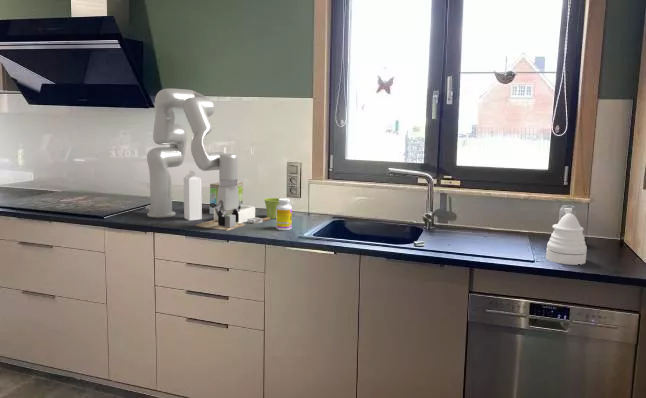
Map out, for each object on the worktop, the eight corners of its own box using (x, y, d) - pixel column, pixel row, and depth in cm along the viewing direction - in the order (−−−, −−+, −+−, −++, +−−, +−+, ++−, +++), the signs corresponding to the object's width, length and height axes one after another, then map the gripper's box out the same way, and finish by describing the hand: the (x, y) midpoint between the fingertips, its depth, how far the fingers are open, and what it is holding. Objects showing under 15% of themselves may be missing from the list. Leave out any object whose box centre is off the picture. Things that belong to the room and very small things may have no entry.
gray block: (221, 226, 230) (221, 215, 229) (227, 225, 234) (227, 213, 233) (229, 228, 228) (229, 216, 228) (235, 226, 232) (235, 215, 231)
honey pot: (541, 254, 199) (545, 205, 197) (577, 255, 198) (582, 207, 195) (552, 263, 187) (557, 212, 184) (591, 265, 186) (596, 213, 183)
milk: (189, 221, 243) (188, 172, 239) (184, 218, 247) (183, 170, 244) (202, 219, 246) (201, 171, 243) (196, 217, 251) (195, 170, 247)
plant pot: (267, 215, 261) (267, 197, 259) (286, 216, 259) (286, 198, 257) (261, 218, 252) (261, 200, 250) (280, 220, 250) (281, 201, 248)
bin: (213, 221, 244) (213, 208, 243) (231, 216, 255) (231, 204, 254) (237, 224, 238) (237, 211, 237) (255, 219, 249) (255, 206, 248)
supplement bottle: (292, 230, 228) (292, 200, 226) (276, 231, 227) (276, 200, 225) (290, 227, 235) (291, 198, 233) (275, 227, 234) (275, 198, 232)
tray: (196, 227, 231) (196, 224, 231) (215, 221, 242) (215, 219, 242) (226, 231, 224) (226, 229, 223) (245, 226, 235) (245, 223, 235)
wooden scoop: (253, 224, 238) (253, 220, 238) (247, 223, 241) (247, 218, 241) (272, 221, 247) (272, 217, 246) (266, 219, 249) (266, 215, 249)
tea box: (227, 216, 257) (227, 185, 254) (209, 214, 260) (208, 183, 258) (243, 211, 270) (243, 181, 268) (225, 209, 274) (225, 180, 272)
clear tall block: (553, 241, 220) (556, 204, 218) (566, 241, 222) (569, 204, 219) (563, 245, 214) (566, 207, 212) (576, 244, 216) (580, 207, 213)
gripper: (233, 180, 237) (233, 219, 240) (207, 184, 222) (208, 226, 225) (247, 181, 234) (247, 221, 237) (222, 186, 219) (223, 228, 221)
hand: (228, 223), depth 231 cm, fingers open, 8 cm apart
